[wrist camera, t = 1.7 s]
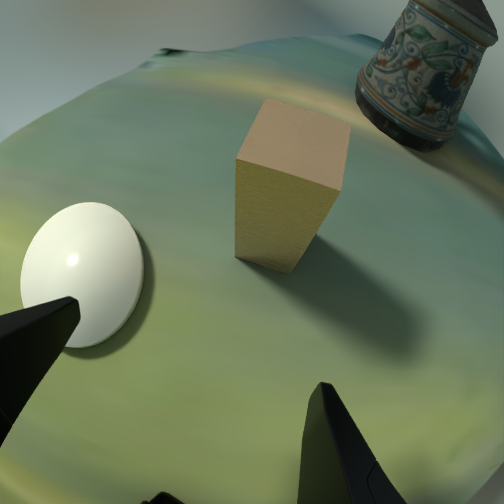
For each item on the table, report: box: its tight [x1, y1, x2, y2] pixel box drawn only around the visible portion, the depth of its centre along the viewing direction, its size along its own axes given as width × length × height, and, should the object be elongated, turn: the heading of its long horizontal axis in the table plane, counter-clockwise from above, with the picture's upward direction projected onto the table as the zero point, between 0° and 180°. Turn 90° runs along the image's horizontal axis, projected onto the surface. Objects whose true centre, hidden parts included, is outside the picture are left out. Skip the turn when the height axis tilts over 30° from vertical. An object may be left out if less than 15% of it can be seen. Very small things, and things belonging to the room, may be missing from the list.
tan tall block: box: [235, 98, 351, 275], centre depth 19 cm, size 5×5×13 cm
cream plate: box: [21, 202, 144, 348], centre depth 23 cm, size 14×14×1 cm
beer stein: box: [355, 0, 498, 153], centre depth 23 cm, size 17×19×25 cm
